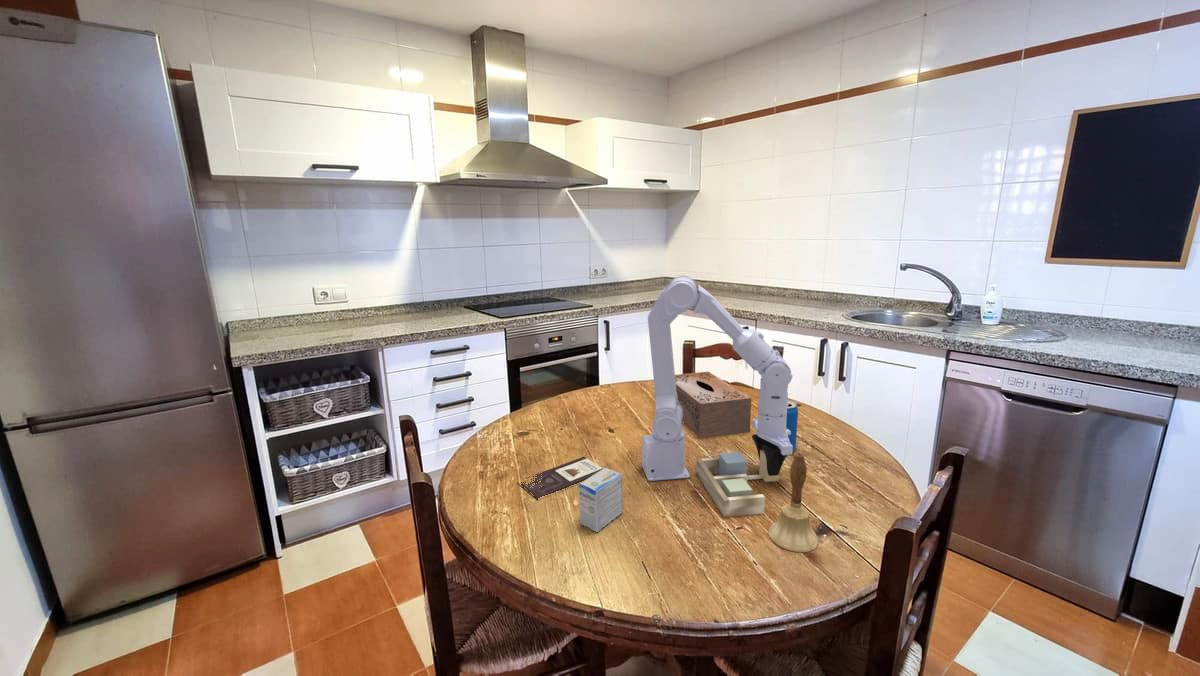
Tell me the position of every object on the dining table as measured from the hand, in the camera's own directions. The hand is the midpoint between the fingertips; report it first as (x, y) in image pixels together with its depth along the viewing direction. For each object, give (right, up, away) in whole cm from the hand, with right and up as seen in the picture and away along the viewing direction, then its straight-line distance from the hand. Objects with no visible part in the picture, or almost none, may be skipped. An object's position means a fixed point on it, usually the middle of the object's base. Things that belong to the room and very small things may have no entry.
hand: (769, 470), depth 103 cm
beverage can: (+8, +1, +13) cm, 16 cm away
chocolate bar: (-45, -3, +4) cm, 46 cm away
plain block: (-10, -4, -8) cm, 13 cm away
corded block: (-5, -2, 0) cm, 5 cm away
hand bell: (-3, -6, -20) cm, 21 cm away
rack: (-10, -3, -5) cm, 12 cm away
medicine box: (-37, -6, -12) cm, 39 cm away
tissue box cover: (-7, +5, +35) cm, 36 cm away
